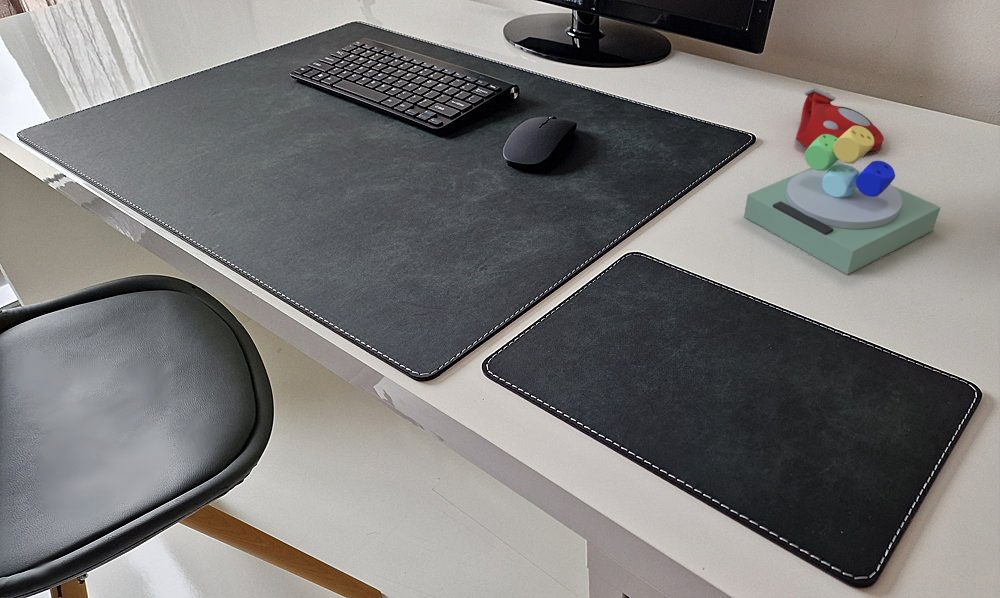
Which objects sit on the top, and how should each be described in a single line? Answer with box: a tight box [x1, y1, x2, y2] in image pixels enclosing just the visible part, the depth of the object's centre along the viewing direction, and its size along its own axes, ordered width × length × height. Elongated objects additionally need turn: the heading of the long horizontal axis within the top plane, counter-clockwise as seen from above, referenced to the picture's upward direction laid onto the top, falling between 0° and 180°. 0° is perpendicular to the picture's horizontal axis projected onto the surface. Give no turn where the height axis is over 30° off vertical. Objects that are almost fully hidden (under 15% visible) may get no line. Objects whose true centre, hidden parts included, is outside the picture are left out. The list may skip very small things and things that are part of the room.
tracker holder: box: [795, 86, 884, 152], centre depth 88 cm, size 12×4×10 cm
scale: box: [743, 160, 941, 275], centre depth 74 cm, size 12×12×3 cm
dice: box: [804, 126, 896, 198], centre depth 71 cm, size 8×3×6 cm, turn 44°
